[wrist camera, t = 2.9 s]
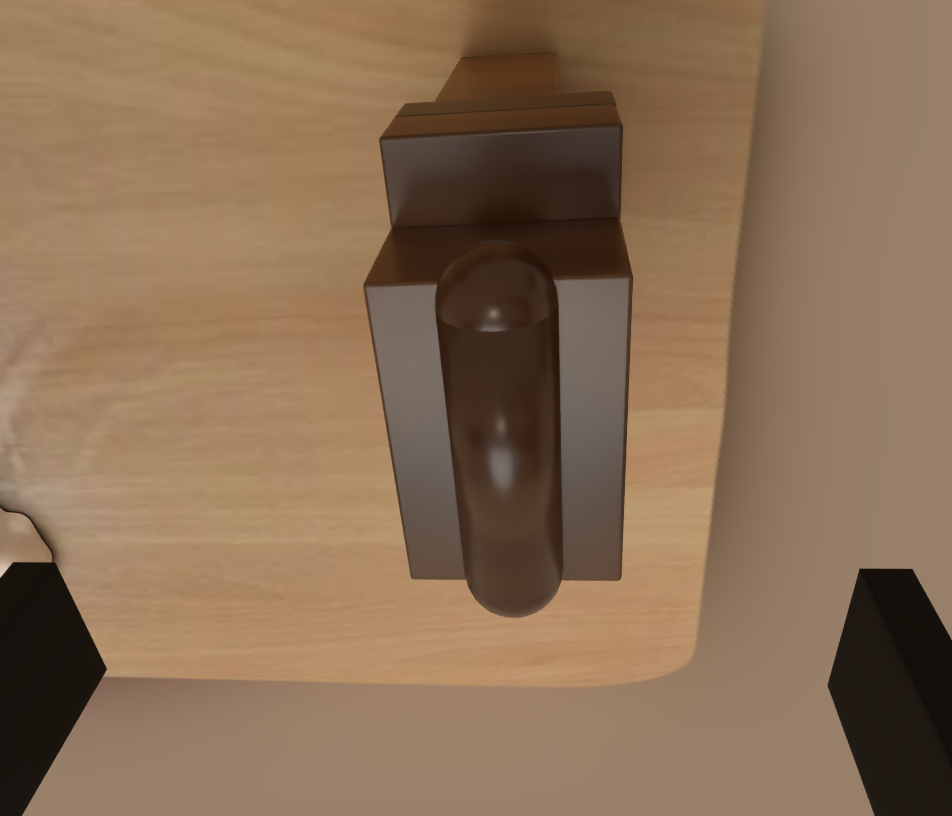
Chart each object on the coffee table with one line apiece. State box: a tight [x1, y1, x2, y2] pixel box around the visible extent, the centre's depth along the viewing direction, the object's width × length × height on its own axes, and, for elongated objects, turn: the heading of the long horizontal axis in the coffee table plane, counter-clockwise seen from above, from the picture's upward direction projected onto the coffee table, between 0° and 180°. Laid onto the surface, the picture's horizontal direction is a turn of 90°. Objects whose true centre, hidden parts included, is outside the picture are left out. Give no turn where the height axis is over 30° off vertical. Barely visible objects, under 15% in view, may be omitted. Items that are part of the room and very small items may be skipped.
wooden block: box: [435, 52, 560, 102], centre depth 28 cm, size 10×4×14 cm, turn 4°
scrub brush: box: [363, 91, 633, 618], centre depth 19 cm, size 12×5×8 cm, turn 4°
